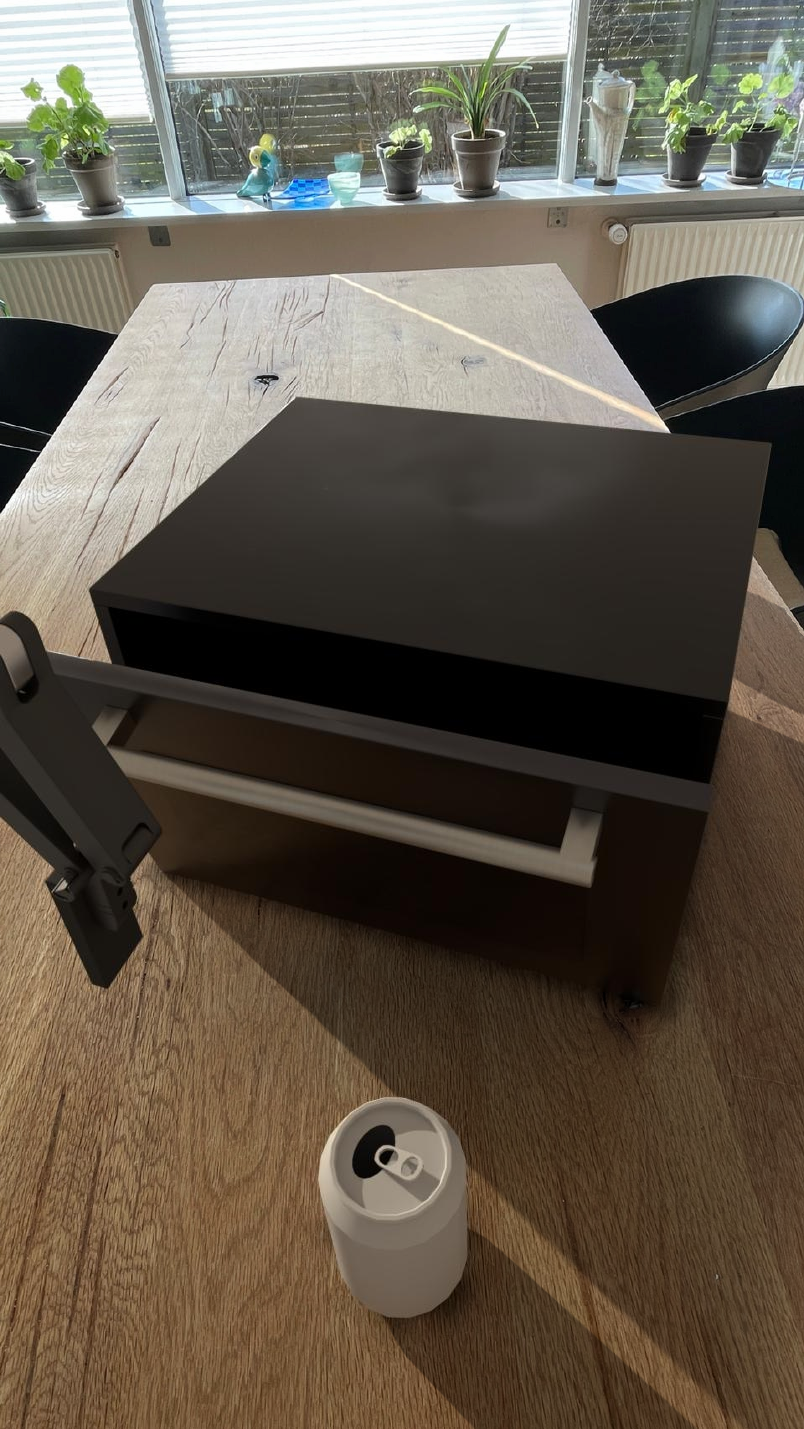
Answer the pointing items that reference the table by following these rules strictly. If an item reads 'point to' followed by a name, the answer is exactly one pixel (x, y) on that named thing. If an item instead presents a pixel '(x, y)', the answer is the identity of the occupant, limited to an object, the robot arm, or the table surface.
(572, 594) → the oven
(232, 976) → the table surface
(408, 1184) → the can
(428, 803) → the oven door
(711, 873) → the table surface
